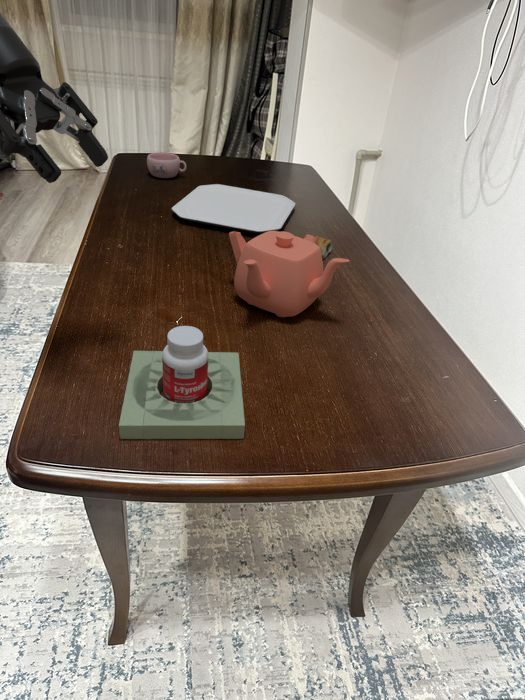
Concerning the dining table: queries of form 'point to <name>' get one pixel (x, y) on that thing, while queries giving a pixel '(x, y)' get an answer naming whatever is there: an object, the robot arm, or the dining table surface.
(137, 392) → the socket pad
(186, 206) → the plate
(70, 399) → the dining table surface
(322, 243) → the pastry
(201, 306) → the dining table surface
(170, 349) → the pill bottle
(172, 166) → the mug
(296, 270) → the teapot
